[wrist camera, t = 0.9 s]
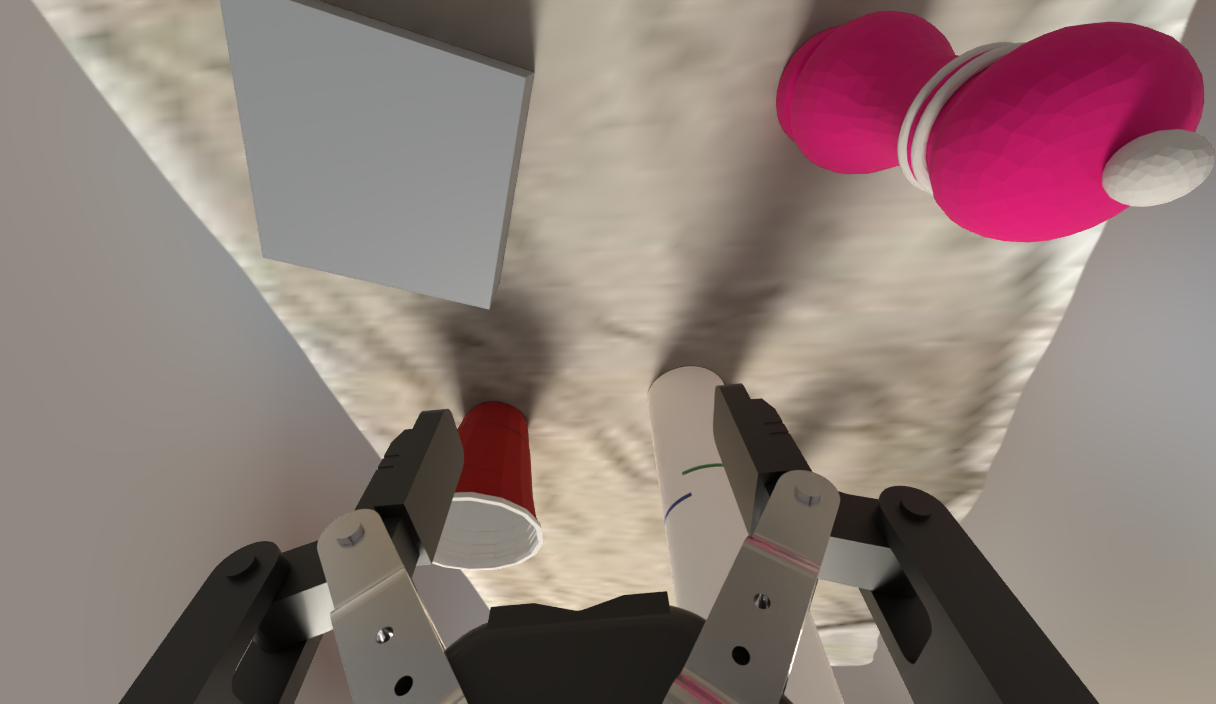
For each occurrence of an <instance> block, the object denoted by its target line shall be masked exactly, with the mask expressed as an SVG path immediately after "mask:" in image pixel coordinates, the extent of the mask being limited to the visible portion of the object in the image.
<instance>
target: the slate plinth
mask: <svg viewBox="0 0 1216 704" xmlns="http://www.w3.org/2000/svg"><path fill="white" fill-rule="evenodd" d="M220 3H221V9H222V15H223V21H224V27H225V33H226V39H227V45H228V51H229V57H230V63H231V69H232V75H233V81H234V87H235V93H236V99H237V105H238V111H239V117H240V123H241V129H242V135H243V141H244V147H245V153H246V159H247V165H248V171H249V177H250V183H251V189H252V195H253V201H254V207H255V213H256V219H257V225H258V231H259V237H260V243H261V249H262V255H263V258H268V259H272V260H276V261H281V262H285V263H289V264H294V265H298V266H302V267H307V268H311V269H315V270H320V271H324V272H328V273H333V274H337V275H341V276H346V277H350V278H354V279H359V280H363V281H368V282H372V283H376V284H381V285H385V286H389V287H394V288H398V289H402V290H407V291H411V292H415V293H420V294H424V295H428V296H433V297H437V298H441V299H446V300H450V301H454V302H459V303H463V304H467V305H472V306H476V307H480V308H485V309H490V306H491V304H492V301H493V299H494V296H495V293H496V291H497V288H498V286H499V283H500V277H501V271H502V265H503V259H504V253H505V247H506V241H507V235H508V229H509V223H510V217H511V211H512V205H513V199H514V193H515V187H516V181H517V175H518V169H519V163H520V157H521V151H522V145H523V139H524V133H525V127H526V121H527V115H528V109H529V103H530V97H531V91H532V85H533V79H534V73H535V72H532V71H529V70H526V69H523V68H520V67H517V66H514V65H511V64H508V63H505V62H502V61H499V60H496V59H493V58H490V57H487V56H484V55H481V54H478V53H475V52H472V51H469V50H466V49H463V48H460V47H457V46H454V45H451V44H448V43H445V42H442V41H439V40H436V39H433V38H430V37H427V36H424V35H421V34H418V33H415V32H412V31H409V30H406V29H403V28H400V27H397V26H394V25H391V24H388V23H384V22H381V21H378V20H375V19H372V18H369V17H366V16H363V15H360V14H357V13H354V12H351V11H348V10H345V9H342V8H339V7H336V6H333V5H330V4H327V3H324V2H321V1H318V0H220Z"/></svg>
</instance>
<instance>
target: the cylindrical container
mask: <svg viewBox="0 0 1216 704" xmlns="http://www.w3.org/2000/svg"><path fill="white" fill-rule="evenodd" d="M717 385H724V383H723V382H722V380H721V379H720V377H719V376H718V375H717V374H715V373H714V372H712V371H710V370H708V369H705V368H702V367H696V366H686V367H680V368H676V369H673V370H670V371H668V372H666V373H664V374H663V375H661V376H660V377H659V378H658V379H657V380H656V381H655V382H654V383H653V384H652V386H651V387H650V389H649V392H648V396H647V403H648V410H649V418H650V425H651V432H652V439H653V447H654V454H655V461H656V468H657V475H658V482H659V489H660V496H661V503H662V510H663V517H664V523H665V531H666V538H667V546H668V553H669V560H670V567H671V574H672V582H673V589H674V596H675V603H676V607H679V608H682V609H685V610H688V611H691V612H693V613H695V614H697V615H699V616H701V617H702V618H704V619H706V620H707V618H708V616H709V614H710V611H711V609H712V607H713V605H714V603H715V601H716V599H717V597H718V595H719V593H720V590H721V588H722V586H723V584H724V582H725V580H726V578H727V576H728V574H729V571H730V569H731V567H732V565H733V563H734V561H735V559H736V557H737V555H738V553H739V550H740V548H741V546H742V544H743V542H744V540H745V539H746V537H747V536H749V535H748V532H747V529H746V526H745V524H744V521H743V518H742V516H741V513H740V510H739V507H738V505H737V502H736V499H735V496H734V494H733V491H732V488H731V486H730V483H729V480H728V477H727V475H726V472H725V469H724V466H723V464H722V461H721V458H720V456H719V453H718V450H717V447H716V444H715V440H714V434H713V414H714V397H715V388H716V386H717ZM784 695H785V696H786V697H787V698H788V699H789V700H790V701H791V702H792V703H793V704H841V703H840V700H839V698H838V695H837V692H836V689H835V687H834V684H833V681H832V679H831V676H830V673H829V670H828V668H827V665H826V662H825V659H824V657H823V654H822V651H821V648H820V646H819V643H818V640H817V638H816V635H815V632H814V629H813V627H812V624H811V621H810V618H809V616H807V619H806V622H805V626H804V629H803V632H802V636H801V639H800V642H799V646H798V649H797V653H796V656H795V660H794V663H793V666H792V670H791V673H790V677H789V680H788V683H787V687H786V690H785V693H784Z"/></svg>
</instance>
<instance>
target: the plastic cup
mask: <svg viewBox="0 0 1216 704" xmlns="http://www.w3.org/2000/svg"><path fill="white" fill-rule="evenodd" d="M457 431H458V434H459V437H460V440H461V443H462V446H463V451H464V464H463V469H462V472H461V475H460V478H459V481H458V484H457V487H456V490H455V494H454V497H453V500H452V503H451V506H450V509H449V512H448V515H447V519H446V522H445V525H444V528H443V531H442V534H441V537H440V540H439V544H438V547H437V550H436V553H435V556H434V559H433V562H432V563H433V564H436V565H439V566H442V567H448V568H455V569H462V570H496V569H500V568H504V567H509V566H513V565H517V564H520V563H521V562H523V561H525V560H527V559H529V558H530V557H532V556H534V555H535V554H536V553H537V551H538V550H539V548H540V547H541V545H542V544H543V536H542V531H541V525H540V522H539V521H538V520H537V518H536V514H535V508H534V502H533V493H532V476H531V459H530V450H529V437H528V427H527V423H526V419H525V418H524V416H523V415H522V413H521V412H520V411H519V410H517V409H516V408H514V407H512V406H511V405H508V404H504V403H501V402H485V403H483V404H480V405H477V406H475V407H474V408H473V409H472V410H471V411H470V412H469V413H468V414H467V415H466V416H465V417H464V419H463V421H462V422H461V424H460V426H459V427H458V429H457Z"/></svg>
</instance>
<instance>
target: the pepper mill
mask: <svg viewBox="0 0 1216 704" xmlns="http://www.w3.org/2000/svg"><path fill="white" fill-rule="evenodd" d="M1203 105H1204V85H1203V78H1202V74H1201V72H1200V70H1199V68H1198V66H1197V64H1196V62H1195V60H1194V59H1193V57H1192V56H1191V54H1190V53H1189V51H1188V50H1187V49H1186V48H1185V47H1184V46H1183V45H1181V44H1180V43H1179V42H1178V41H1177V40H1175V39H1174V38H1173V37H1171V36H1169V35H1166V34H1164V33H1161V32H1159V31H1156V30H1153V29H1151V28H1148V27H1144V26H1141V25H1137V24H1133V23H1121V22H1102V23H1092V24H1083V25H1076V26H1069V27H1064V28H1061V29H1059V30H1056V31H1053V32H1050V33H1047V34H1044V35H1042V36H1040V37H1038V38H1035V39H1033V40H1031V41H1029V42H1026V43H1011V42H1000V43H993V44H987V45H983V46H980V47H977V48H975V49H972V50H970V51H968V52H966V53H964V54H962V55H960V56H957V55H955V53H954V51H953V49H952V47H951V45H950V43H949V42H948V40H947V39H946V37H945V36H944V35H943V34H942V33H941V32H940V31H939V30H938V29H937V28H936V27H934V26H933V25H932V24H930V23H929V22H928V21H926V20H925V19H923V18H921V17H918V16H916V15H914V14H908V13H902V12H894V11H882V12H875V13H871V14H867V15H864V16H862V17H859V18H857V19H854V20H852V21H850V22H848V23H846V24H845V25H842V26H836V27H832V28H829V29H826V30H824V31H822V32H819V33H818V34H816V35H815V36H813V37H812V38H810V39H809V40H808V41H807V42H805V43H804V44H803V45H802V46H801V47H800V48H799V49H798V50H797V52H796V53H795V54H794V55H793V57H792V58H791V59H790V61H789V63H788V64H787V66H786V68H785V70H784V72H783V75H782V77H781V79H780V83H779V87H778V91H777V98H776V108H777V116H778V119H779V122H780V125H781V127H782V129H783V130H784V132H785V133H786V134H787V135H788V136H789V138H791V139H792V140H793V141H795V142H796V143H797V145H798V147H799V149H800V150H801V151H802V153H803V154H804V155H805V157H807V158H808V159H809V160H810V161H811V162H812V163H814V164H816V165H818V166H819V167H822V168H825V169H828V170H831V171H834V172H837V173H843V174H868V173H873V172H877V171H881V170H884V169H888V168H891V167H895V166H900V168H901V170H902V172H903V173H904V175H905V177H906V179H907V180H908V181H910V182H911V183H912V184H913V185H914V186H915V187H917V188H919V189H921V190H924V191H927V192H929V193H930V194H932V195H933V196H934V199H935V200H936V202H937V204H938V205H939V206H940V207H941V209H942V210H943V211H944V212H945V214H946V215H947V216H948V217H949V219H951V220H952V221H953V222H955V223H956V224H958V225H959V226H961V227H962V228H964V229H967V230H969V231H971V232H973V233H976V234H978V235H981V236H983V237H987V238H992V239H996V240H1001V241H1011V242H1037V241H1048V240H1052V239H1057V238H1061V237H1065V236H1069V235H1072V234H1075V233H1078V232H1081V231H1084V230H1086V229H1089V228H1092V227H1094V226H1096V225H1098V224H1100V223H1102V222H1104V221H1106V220H1108V219H1110V218H1112V217H1114V216H1116V215H1117V214H1119V213H1120V212H1122V211H1123V210H1125V209H1126V208H1128V207H1129V206H1153V205H1158V204H1163V203H1167V202H1170V201H1172V200H1175V199H1177V198H1179V197H1181V196H1184V195H1186V194H1188V193H1189V192H1190V191H1192V190H1193V189H1195V188H1196V187H1197V186H1199V185H1200V184H1201V183H1202V182H1203V181H1204V180H1205V179H1206V177H1207V176H1208V175H1209V173H1210V171H1211V169H1212V167H1213V165H1214V148H1213V147H1212V145H1211V143H1210V142H1209V141H1208V140H1207V139H1206V138H1205V137H1203V136H1202V135H1200V134H1198V133H1196V132H1195V131H1196V129H1197V126H1198V124H1199V122H1200V119H1201V116H1202V110H1203Z"/></svg>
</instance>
